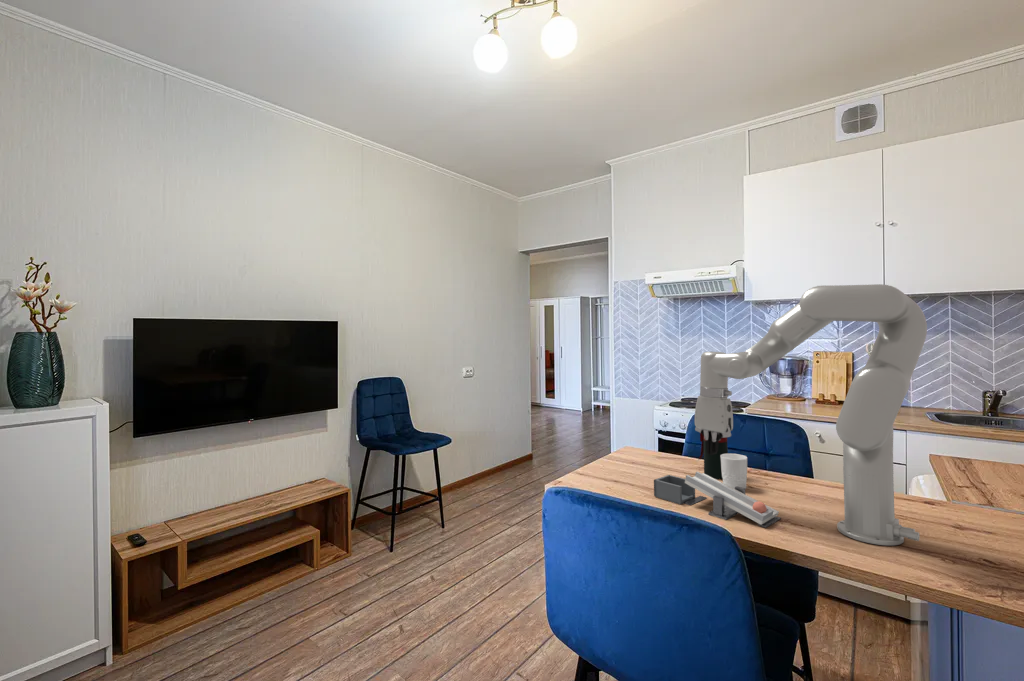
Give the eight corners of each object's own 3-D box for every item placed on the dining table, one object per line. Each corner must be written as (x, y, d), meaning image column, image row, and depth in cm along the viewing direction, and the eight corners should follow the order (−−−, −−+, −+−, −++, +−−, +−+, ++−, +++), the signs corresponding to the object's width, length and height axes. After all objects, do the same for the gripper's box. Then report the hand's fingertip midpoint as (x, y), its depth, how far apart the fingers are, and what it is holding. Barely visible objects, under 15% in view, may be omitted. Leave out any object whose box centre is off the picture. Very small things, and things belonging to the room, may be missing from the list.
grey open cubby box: (695, 498, 135) (694, 481, 135) (680, 504, 130) (680, 486, 130) (669, 490, 142) (668, 474, 142) (654, 496, 138) (653, 479, 138)
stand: (784, 516, 120) (784, 497, 120) (761, 530, 112) (760, 509, 112) (704, 494, 138) (704, 478, 138) (679, 505, 130) (678, 487, 130)
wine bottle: (705, 470, 164) (703, 389, 164) (732, 476, 156) (730, 390, 156) (693, 474, 159) (691, 390, 160) (721, 480, 151) (719, 392, 152)
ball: (766, 515, 117) (770, 505, 116) (760, 518, 115) (765, 508, 114) (754, 507, 119) (758, 497, 118) (748, 510, 117) (752, 500, 116)
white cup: (742, 483, 148) (741, 453, 148) (752, 491, 140) (751, 459, 141) (717, 483, 149) (716, 453, 149) (726, 491, 141) (725, 459, 141)
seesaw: (778, 514, 120) (780, 506, 119) (761, 524, 113) (763, 516, 113) (702, 476, 136) (704, 468, 136) (684, 482, 130) (686, 475, 130)
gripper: (745, 395, 129) (743, 457, 130) (697, 389, 141) (695, 446, 142) (732, 397, 125) (730, 461, 126) (683, 390, 137) (682, 449, 137)
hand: (712, 453), depth 134 cm, fingers closed
